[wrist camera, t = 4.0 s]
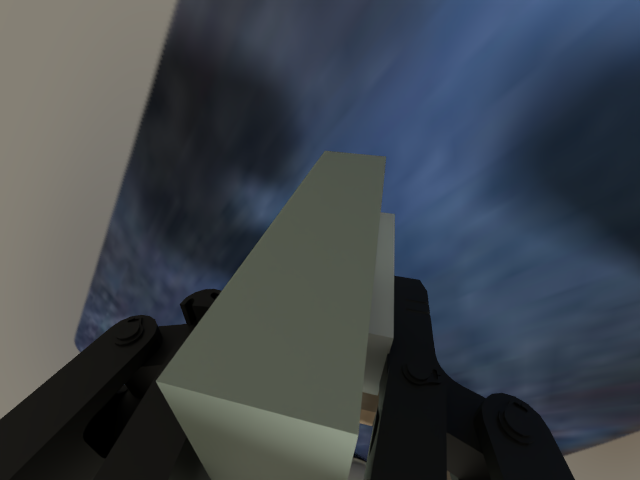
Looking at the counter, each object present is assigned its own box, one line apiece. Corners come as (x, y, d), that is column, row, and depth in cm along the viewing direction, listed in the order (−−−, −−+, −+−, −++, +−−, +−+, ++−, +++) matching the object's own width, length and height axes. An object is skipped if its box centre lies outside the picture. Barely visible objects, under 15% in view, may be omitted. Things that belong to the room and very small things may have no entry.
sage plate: (324, 150, 12) (155, 381, 3) (386, 156, 11) (358, 435, 3) (316, 369, 21) (265, 575, 12) (350, 377, 20) (319, 595, 12)
